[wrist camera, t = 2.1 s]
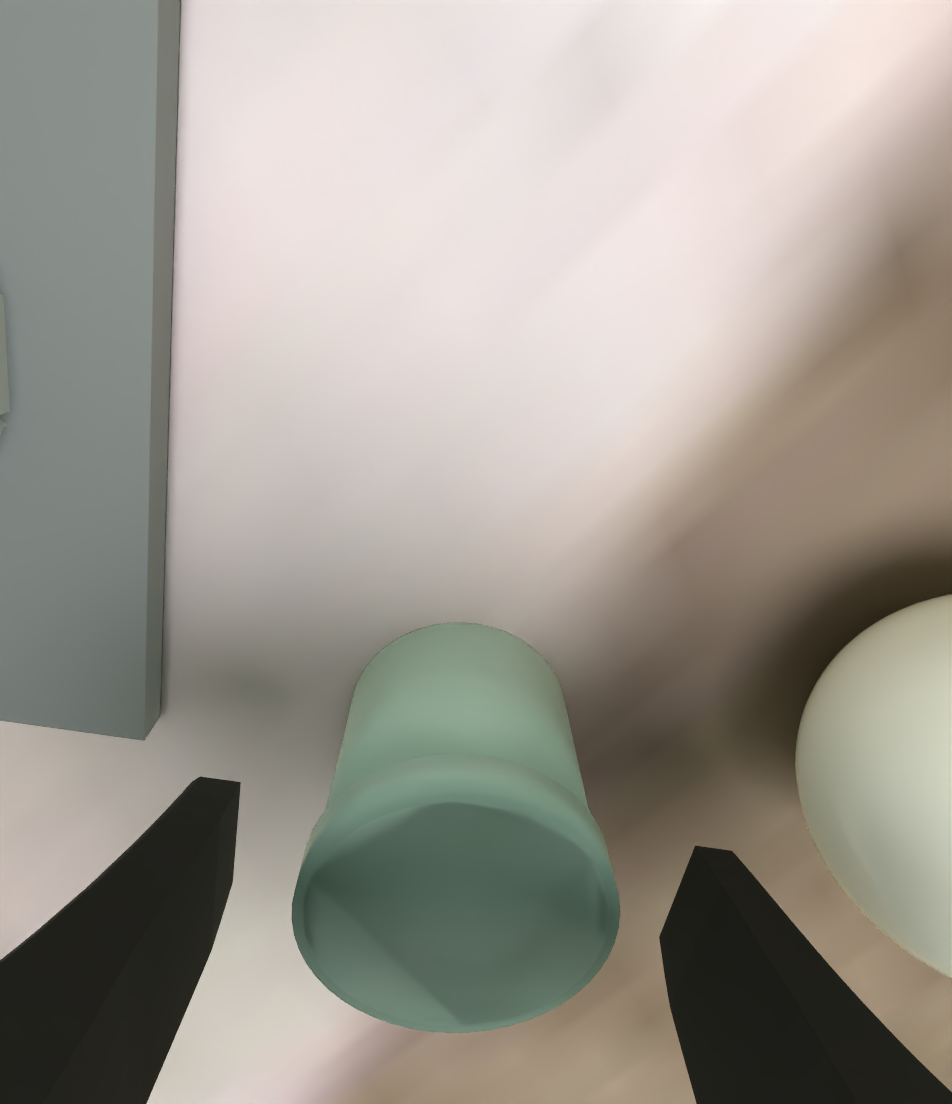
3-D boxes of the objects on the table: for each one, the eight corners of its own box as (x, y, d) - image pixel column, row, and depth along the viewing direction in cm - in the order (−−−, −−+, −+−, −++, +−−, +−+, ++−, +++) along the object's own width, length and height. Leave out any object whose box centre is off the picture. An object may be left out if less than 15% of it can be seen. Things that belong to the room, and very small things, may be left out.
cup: (544, 819, 16) (576, 1047, 12) (332, 790, 16) (278, 1014, 11) (596, 636, 15) (659, 818, 10) (359, 597, 14) (308, 769, 10)
